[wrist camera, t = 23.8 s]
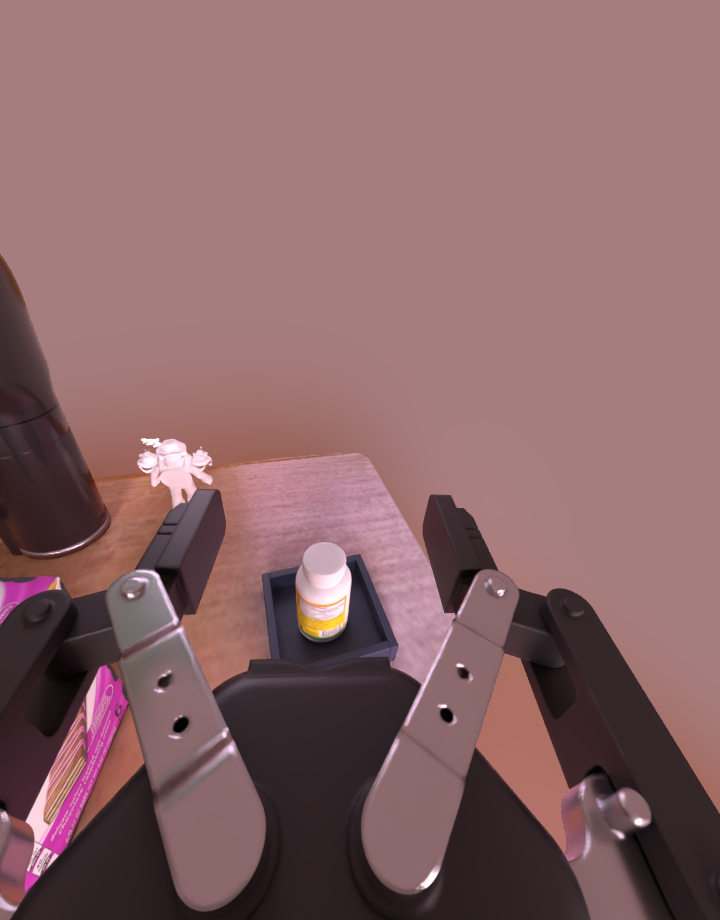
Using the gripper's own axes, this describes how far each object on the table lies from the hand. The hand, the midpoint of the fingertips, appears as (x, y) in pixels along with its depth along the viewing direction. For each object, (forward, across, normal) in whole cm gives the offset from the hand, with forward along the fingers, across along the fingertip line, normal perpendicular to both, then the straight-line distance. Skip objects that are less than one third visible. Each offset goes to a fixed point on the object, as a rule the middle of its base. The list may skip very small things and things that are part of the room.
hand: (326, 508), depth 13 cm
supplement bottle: (+11, 0, +26) cm, 28 cm away
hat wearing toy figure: (+30, +20, +26) cm, 44 cm away
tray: (+11, 0, +26) cm, 28 cm away
